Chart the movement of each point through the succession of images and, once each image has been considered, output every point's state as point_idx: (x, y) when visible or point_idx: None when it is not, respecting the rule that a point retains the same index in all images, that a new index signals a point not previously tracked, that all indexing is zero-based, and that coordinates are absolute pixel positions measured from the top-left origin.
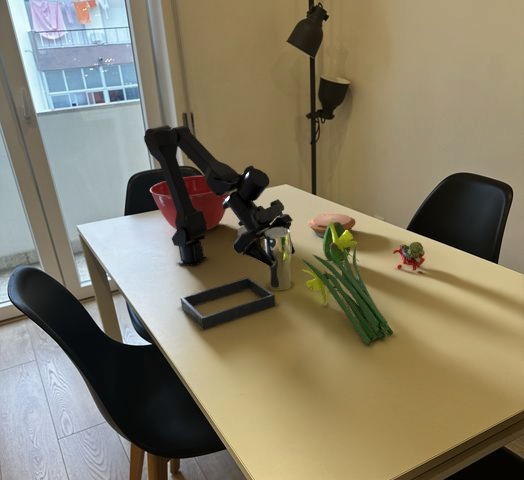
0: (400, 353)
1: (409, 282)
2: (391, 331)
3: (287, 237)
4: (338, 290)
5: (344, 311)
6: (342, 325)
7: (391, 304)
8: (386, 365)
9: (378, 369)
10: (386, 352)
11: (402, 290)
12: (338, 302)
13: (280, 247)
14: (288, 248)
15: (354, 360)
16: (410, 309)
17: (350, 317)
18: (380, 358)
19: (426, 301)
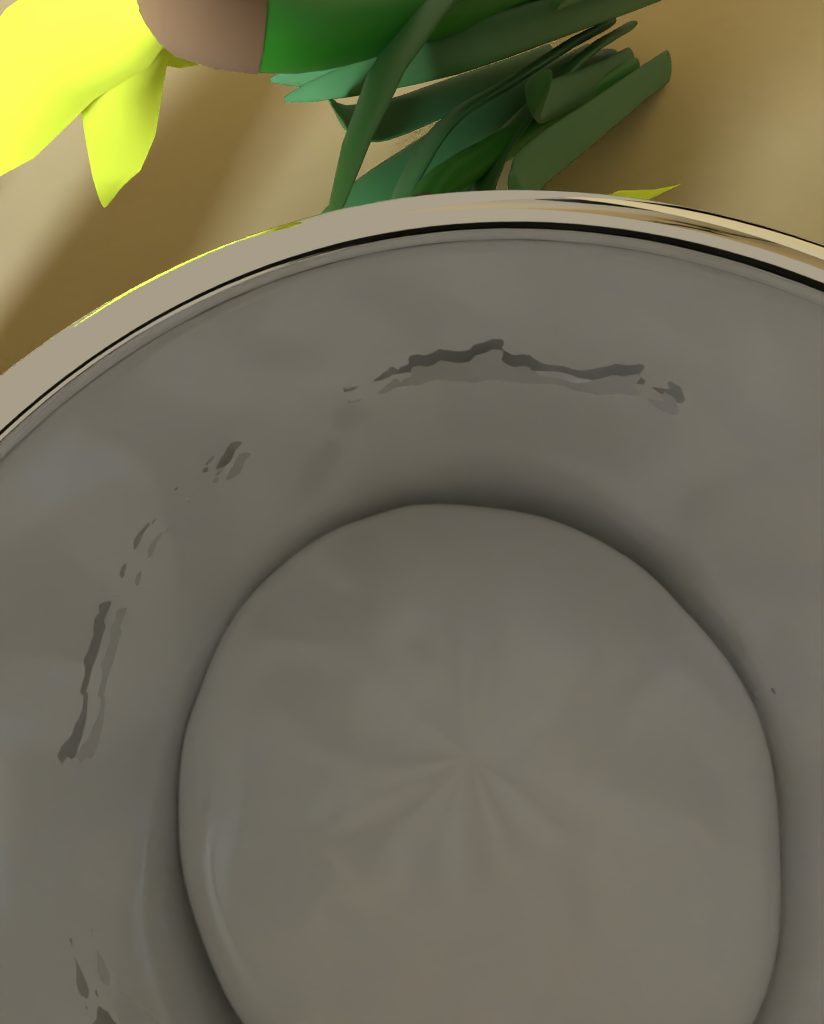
0: (624, 19)
1: (78, 191)
2: (548, 48)
3: (472, 284)
4: (552, 111)
5: (620, 115)
6: (611, 192)
7: (322, 154)
8: (714, 14)
9: (752, 17)
10: (652, 39)
11: (172, 178)
12: (601, 128)
13: (670, 476)
14: (462, 456)
15: (777, 68)
16: (326, 102)
17: (633, 93)
18: (697, 35)
19: (235, 95)
